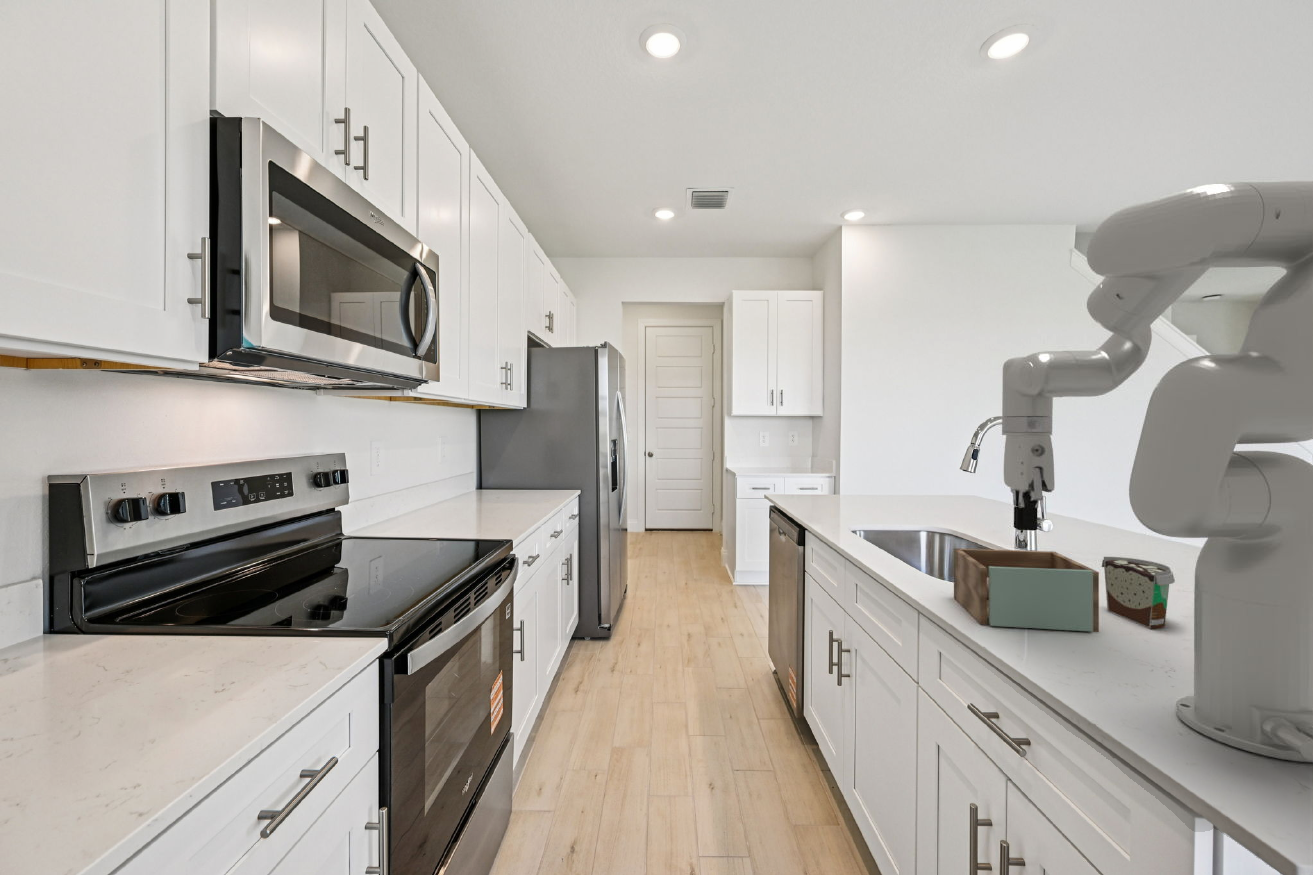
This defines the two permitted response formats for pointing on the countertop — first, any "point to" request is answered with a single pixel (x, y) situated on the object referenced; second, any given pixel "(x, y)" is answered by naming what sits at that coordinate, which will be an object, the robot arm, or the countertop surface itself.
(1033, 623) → the flat green panel
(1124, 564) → the food container
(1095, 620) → the crate
